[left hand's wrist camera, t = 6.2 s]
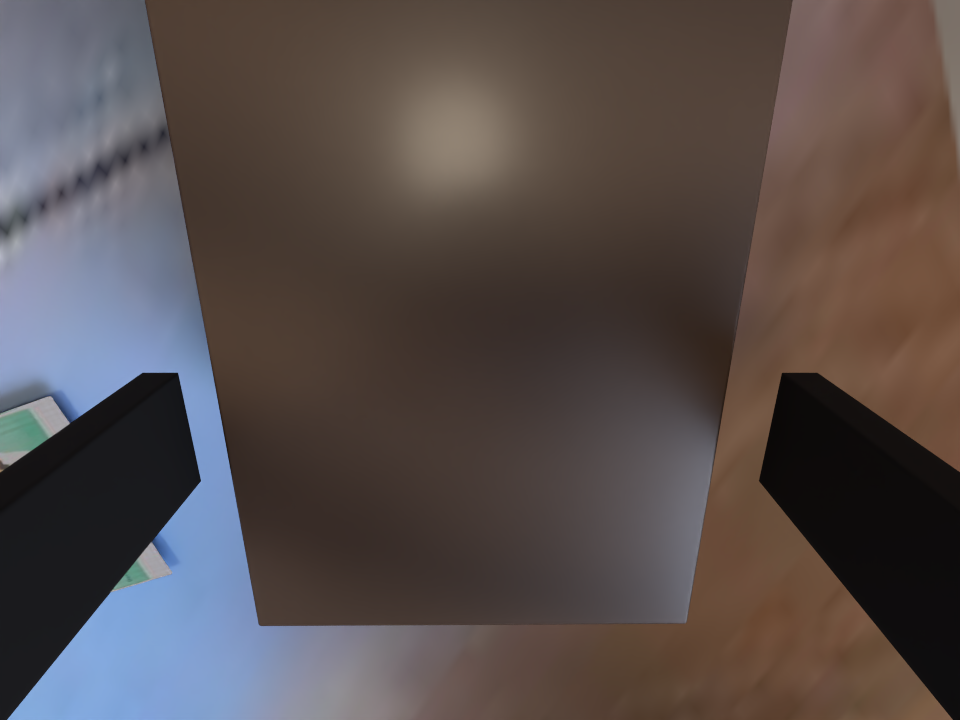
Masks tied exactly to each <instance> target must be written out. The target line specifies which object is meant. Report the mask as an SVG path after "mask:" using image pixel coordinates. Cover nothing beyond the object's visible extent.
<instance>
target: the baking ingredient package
mask: <svg viewBox="0 0 960 720" xmlns="http://www.w3.org/2000/svg"><path fill="white" fill-rule="evenodd" d="M69 424H70V422H69V421H68V420H67V418H66V417H65V416H64V415H63V413H62V411H61V410H60V409H59V407H58V406H57V404H56V403H55V402H54V400H53V398H52V397H51V396H48V397H45V398H42V399H40V400H36V401H34V402H31V403H28V404H26V405H23V406H20V407H17V408H14V409H12V410H9V411H6V412H3V413H0V472H1V471H3V470H4V469H6V468H7V467H9V466H10V465H11V464H13V463H14V462H16V461H17V460H19V459H20V458H21V457H23V456H24V455H26V454H27V453H29V452H30V451H31V450H33V449H34V448H36V447H37V446H39V445H40V444H41V443H43V442H44V441H46V440H47V439H49V438H50V437H52V436H53V435H54V434H56V433H57V432H59V431H60V430H62V429H63V428H64V427H66V426H67V425H69ZM170 574H172V571H171V570H170V569H169V567H168V565H167V564H166V563H165V561H164V560H163V559H162V557H161V555H160V554H159V552H158V550H157V549H156V547H155V546H154V545H153V543H152V542H151V543H150V544H149V546H148V547H147V548H146V549H145V550H144V552H143V553H142V554H141V555H140V557H139V558H138V559H137V560H136V562H135V563H134V564H133V565H132V566H131V568H130V569H129V570H128V571H127V573H126V574H125V575H124V576H123V578H122V579H121V580H120V581H119V582H118V584H117V585H116V586H115V587H114V589H113V590H112V591H111V592H113V591H116V590H120V589H123V588H126V587H130V586H133V585H137V584H140V583H143V582H147V581H150V580H153V579H156V578H160V577H163V576H166V575H170Z"/></svg>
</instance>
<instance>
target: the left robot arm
mask: <svg viewBox="0 0 960 720" xmlns="http://www.w3.org/2000/svg"><path fill="white" fill-rule="evenodd" d="M200 482H201V479H200V474H199V470H198V465H197V460H196V456H195V451H194V446H193V441H192V437H191V432H190V427H189V423H188V418H187V413H186V409H185V404H184V399H183V394H182V390H181V385H180V380H179V376H178V373H142V374H140V375H139V376H137V377H136V378H135V379H133V380H132V381H130V382H129V383H127V384H126V385H125V386H123V387H122V388H120V389H119V390H117V391H116V392H115V393H113V394H112V395H110V396H109V397H107V398H106V399H105V400H103V401H102V402H100V403H99V404H97V405H96V406H95V407H93V408H92V409H90V410H89V411H87V412H86V413H84V414H83V415H82V416H80V417H79V418H77V419H76V420H74V421H73V422H72V423H70V424H69V425H67V426H66V427H64V428H63V429H62V430H60V431H59V432H57V433H56V434H54V435H53V436H52V437H50V438H49V439H47V440H46V441H44V442H43V443H41V444H40V445H39V446H37V447H36V448H34V449H33V450H31V451H30V452H29V453H27V454H26V455H24V456H23V457H21V458H20V459H19V460H17V461H16V462H14V463H13V464H11V465H10V466H9V467H7V468H6V469H4V470H3V471H1V472H0V720H7V719H8V718H9V717H10V715H11V714H12V713H13V712H14V710H15V709H16V708H17V707H18V706H19V704H20V703H21V702H22V701H23V699H24V698H25V697H26V696H27V694H28V693H29V692H30V691H31V690H32V688H33V687H34V686H35V685H36V683H37V682H38V681H39V680H40V678H41V677H42V676H43V675H44V674H45V672H46V671H47V670H48V669H49V667H50V666H51V665H52V664H53V662H54V661H55V660H56V659H57V658H58V656H59V655H60V654H61V653H62V651H63V650H64V649H65V648H66V646H67V645H68V644H69V643H70V642H71V640H72V639H73V638H74V637H75V635H76V634H77V633H78V632H79V630H80V629H81V628H82V627H83V626H84V624H85V623H86V622H87V621H88V619H89V618H90V617H91V616H92V614H93V613H94V612H95V611H96V610H97V608H98V607H99V606H100V605H101V603H102V602H103V601H104V600H105V598H106V597H107V596H108V595H109V594H110V592H111V591H112V590H113V589H114V587H115V586H116V585H117V584H118V582H119V581H120V580H121V579H122V578H123V576H124V575H125V574H126V573H127V571H128V570H129V569H130V568H131V566H132V565H133V564H134V563H135V562H136V560H137V559H138V558H139V557H140V555H141V554H142V553H143V552H144V550H145V549H146V548H147V547H148V546H149V544H150V543H151V542H152V541H153V539H154V538H155V537H156V536H157V534H158V533H159V532H160V531H161V530H162V528H163V527H164V526H165V525H166V523H167V522H168V521H169V520H170V518H171V517H172V516H173V515H174V514H175V512H176V511H177V510H178V509H179V507H180V506H181V505H182V504H183V502H184V501H185V500H186V499H187V498H188V496H189V495H190V494H191V493H192V491H193V490H194V489H195V488H196V486H197V485H198V484H199V483H200ZM759 482H760V483H761V484H762V485H763V486H764V488H765V489H766V490H767V491H768V493H769V494H770V495H771V496H772V498H773V499H774V500H775V501H776V502H777V504H778V505H779V506H780V507H781V509H782V510H783V511H784V512H785V514H786V515H787V516H788V517H789V518H790V520H791V521H792V522H793V523H794V525H795V526H796V527H797V528H798V530H799V531H800V532H801V533H802V534H803V536H804V537H805V538H806V539H807V541H808V542H809V543H810V544H811V546H812V547H813V548H814V549H815V550H816V552H817V553H818V554H819V555H820V557H821V558H822V559H823V560H824V562H825V563H826V564H827V565H828V566H829V568H830V569H831V570H832V571H833V573H834V574H835V575H836V576H837V578H838V579H839V580H840V581H841V582H842V584H843V585H844V586H845V587H846V589H847V590H848V591H849V592H850V594H851V595H852V596H853V597H854V598H855V600H856V601H857V602H858V603H859V605H860V606H861V607H862V608H863V610H864V611H865V612H866V613H867V614H868V616H869V617H870V618H871V619H872V621H873V622H874V623H875V624H876V626H877V627H878V628H879V629H880V630H881V632H882V633H883V634H884V635H885V637H886V638H887V639H888V640H889V642H890V643H891V644H892V645H893V646H894V648H895V649H896V650H897V651H898V653H899V654H900V655H901V656H902V658H903V659H904V660H905V661H906V662H907V664H908V665H909V666H910V667H911V669H912V670H913V671H914V672H915V674H916V675H917V676H918V677H919V678H920V680H921V681H922V682H923V683H924V685H925V686H926V687H927V688H928V690H929V691H930V692H931V693H932V694H933V696H934V697H935V698H936V699H937V701H938V702H939V703H940V704H941V706H942V707H943V708H944V709H945V710H946V712H947V713H948V714H949V715H950V717H951V718H952V719H953V720H960V472H959V471H957V470H956V469H954V468H953V467H951V466H950V465H949V464H947V463H946V462H944V461H943V460H941V459H940V458H939V457H937V456H936V455H934V454H933V453H931V452H930V451H929V450H927V449H926V448H924V447H923V446H921V445H920V444H919V443H917V442H916V441H914V440H913V439H911V438H910V437H908V436H907V435H906V434H904V433H903V432H901V431H900V430H898V429H897V428H896V427H894V426H893V425H891V424H890V423H888V422H887V421H886V420H884V419H883V418H881V417H880V416H878V415H877V414H876V413H874V412H873V411H871V410H870V409H868V408H867V407H865V406H864V405H863V404H861V403H860V402H858V401H857V400H855V399H854V398H853V397H851V396H850V395H848V394H847V393H845V392H844V391H843V390H841V389H840V388H838V387H837V386H835V385H834V384H833V383H831V382H830V381H828V380H827V379H825V378H824V377H823V376H821V375H820V374H818V373H782V376H781V380H780V385H779V390H778V394H777V399H776V404H775V409H774V413H773V418H772V423H771V427H770V432H769V437H768V441H767V446H766V451H765V456H764V460H763V465H762V470H761V474H760V479H759Z"/></svg>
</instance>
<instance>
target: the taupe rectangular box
mask: <svg viewBox="0 0 960 720" xmlns="http://www.w3.org/2000/svg"><path fill="white" fill-rule="evenodd" d="M792 1H793V0H145V4H146V9H147V15H148V20H149V26H150V31H151V37H152V42H153V48H154V53H155V59H156V64H157V70H158V75H159V81H160V86H161V92H162V97H163V102H164V108H165V113H166V119H167V124H168V130H169V135H170V141H171V146H172V152H173V157H174V163H175V168H176V174H177V179H178V185H179V190H180V196H181V201H182V206H183V212H184V217H185V223H186V228H187V234H188V239H189V245H190V250H191V256H192V261H193V267H194V272H195V278H196V283H197V289H198V294H199V300H200V305H201V311H202V316H203V321H204V327H205V332H206V338H207V343H208V349H209V354H210V360H211V365H212V371H213V376H214V382H215V387H216V393H217V398H218V404H219V409H220V415H221V420H222V425H223V431H224V436H225V442H226V447H227V453H228V458H229V464H230V469H231V475H232V480H233V486H234V491H235V497H236V502H237V508H238V513H239V519H240V524H241V530H242V535H243V540H244V546H245V551H246V557H247V562H248V568H249V573H250V579H251V584H252V590H253V595H254V601H255V606H256V612H257V617H258V623H259V625H260V626H337V625H523V624H685V623H686V622H687V617H688V611H689V605H690V600H691V594H692V588H693V582H694V576H695V570H696V564H697V558H698V553H699V547H700V541H701V535H702V529H703V523H704V517H705V511H706V506H707V500H708V494H709V488H710V482H711V476H712V470H713V464H714V459H715V453H716V447H717V441H718V435H719V429H720V423H721V418H722V412H723V406H724V400H725V394H726V388H727V382H728V376H729V371H730V365H731V359H732V353H733V347H734V341H735V335H736V329H737V324H738V318H739V312H740V306H741V300H742V294H743V288H744V282H745V277H746V271H747V265H748V259H749V253H750V247H751V241H752V235H753V230H754V224H755V218H756V212H757V206H758V200H759V194H760V188H761V183H762V177H763V171H764V165H765V159H766V153H767V147H768V141H769V136H770V130H771V124H772V118H773V112H774V106H775V100H776V95H777V89H778V83H779V77H780V71H781V65H782V59H783V53H784V48H785V42H786V36H787V30H788V24H789V18H790V12H791V6H792Z"/></svg>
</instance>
